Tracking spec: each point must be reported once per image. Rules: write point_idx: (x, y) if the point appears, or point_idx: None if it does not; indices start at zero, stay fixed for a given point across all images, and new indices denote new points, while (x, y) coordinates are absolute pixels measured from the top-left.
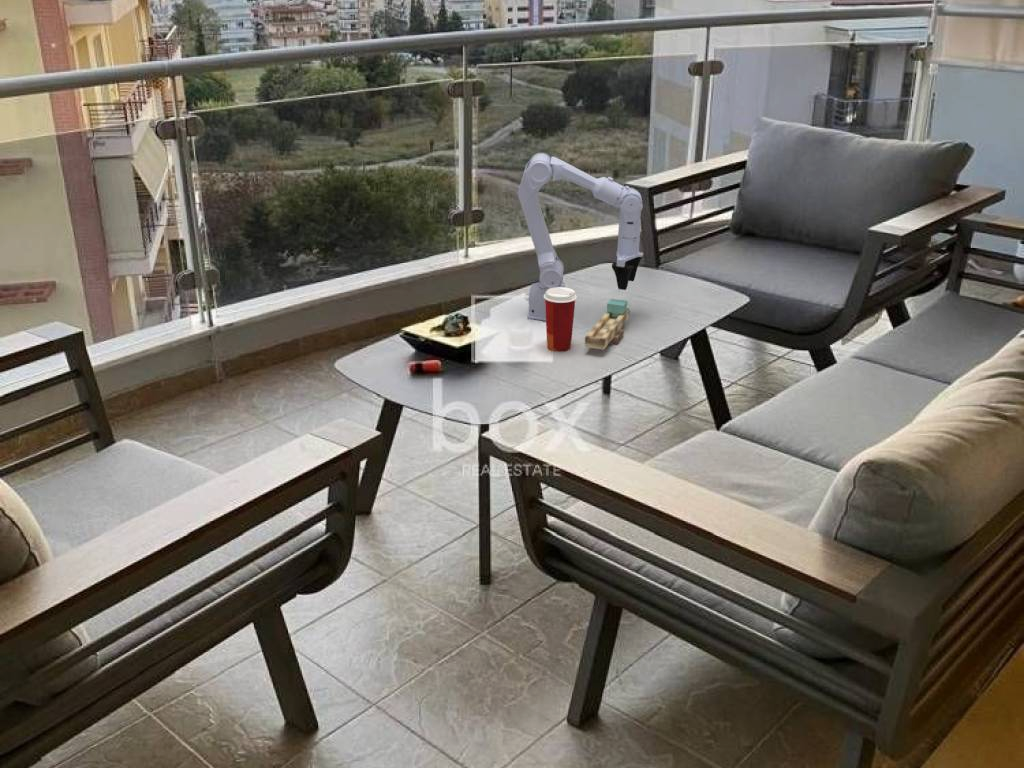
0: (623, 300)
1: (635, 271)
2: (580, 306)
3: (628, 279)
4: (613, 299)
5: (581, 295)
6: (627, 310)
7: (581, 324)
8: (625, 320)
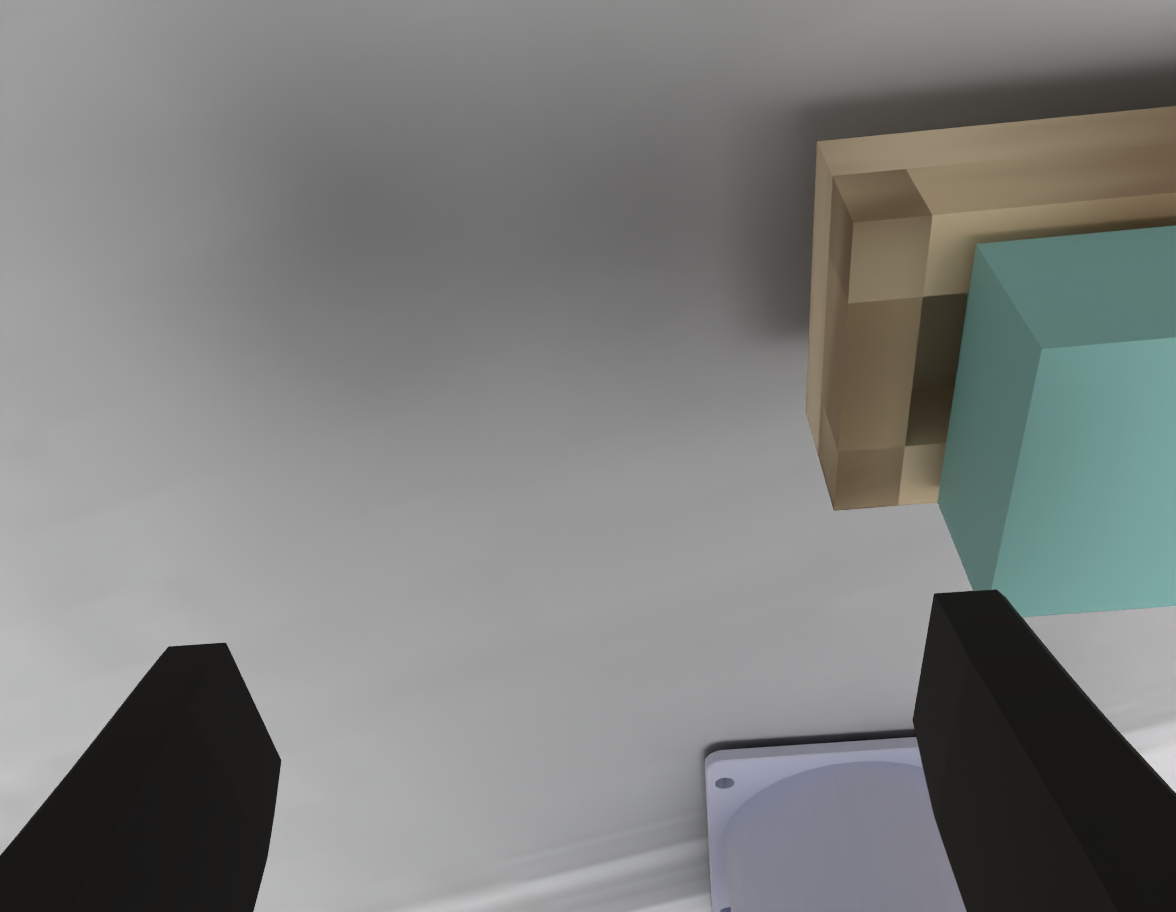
0: (1043, 423)
1: (89, 889)
2: (444, 734)
3: (1107, 836)
4: (1023, 583)
5: None
6: (971, 221)
7: None
8: (1083, 130)
